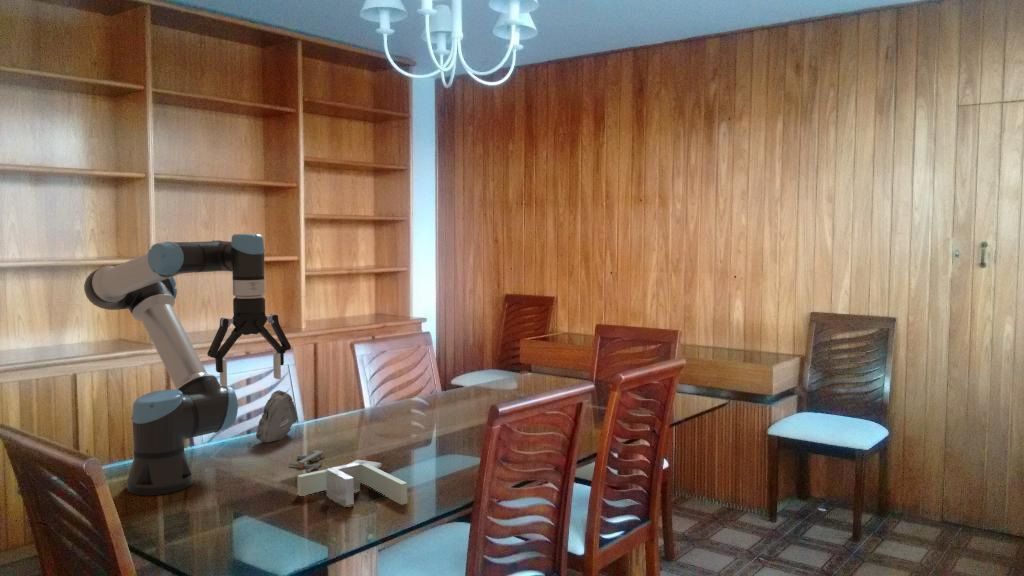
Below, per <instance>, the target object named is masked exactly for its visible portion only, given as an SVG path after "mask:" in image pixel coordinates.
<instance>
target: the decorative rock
mask: <svg viewBox="0 0 1024 576" xmlns="http://www.w3.org/2000/svg"><path fill="white" fill-rule="evenodd" d="M262 412H263V413H262V415H261V418H260V419H259V421H258V426H257V430H256V433H255V438H256V439H257V440H259V441H260V442H261V443H270V442H273V441H275V442H277V441H282V439H284V438H285V437H286V436H287V435H288V433H289V432H290V431H291V427H293V425H294V424H295V423H297V422H298V419H299V418H298V414H297V410H296V405H295V402H294V401H293V398H292V396H291V394H289V393H287V392H285V391H282V390H280V389H278V390H275V391H273V392H272V393H271V395H270V397H269V399H268V400H267V402H266V403H265V406H264V407H263V411H262Z"/></svg>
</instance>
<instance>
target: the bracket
mask: <svg viewBox="0 0 1024 576" xmlns="http://www.w3.org/2000/svg"><path fill="white" fill-rule="evenodd" d="M325 469H326V488H327V491H326V497H327V496H328V497H330V498H332V499H334V500H336V501H338V502H340V503H342V504H344V505H346V506H347V505H350V504H354V505H355V499H354V497H355V494H354V492H358V491H360V492H361V483H360V464H358V463H352V464H349V463H347V464H342V465H338V466H333V467H328V468H325Z"/></svg>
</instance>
